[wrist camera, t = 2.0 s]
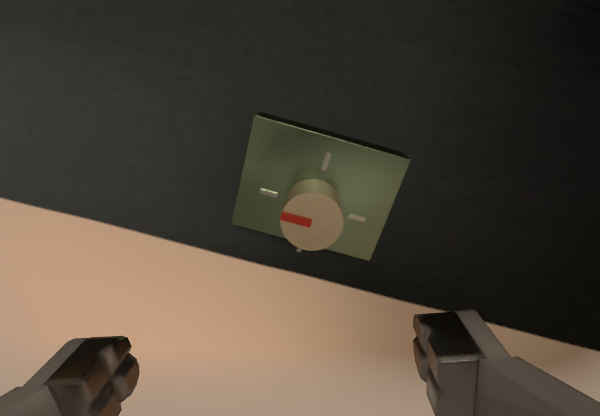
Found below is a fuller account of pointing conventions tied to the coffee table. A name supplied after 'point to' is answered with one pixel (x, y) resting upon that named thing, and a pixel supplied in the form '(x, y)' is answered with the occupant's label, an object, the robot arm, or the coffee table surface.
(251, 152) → the panel
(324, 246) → the knob
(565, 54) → the coffee table surface
